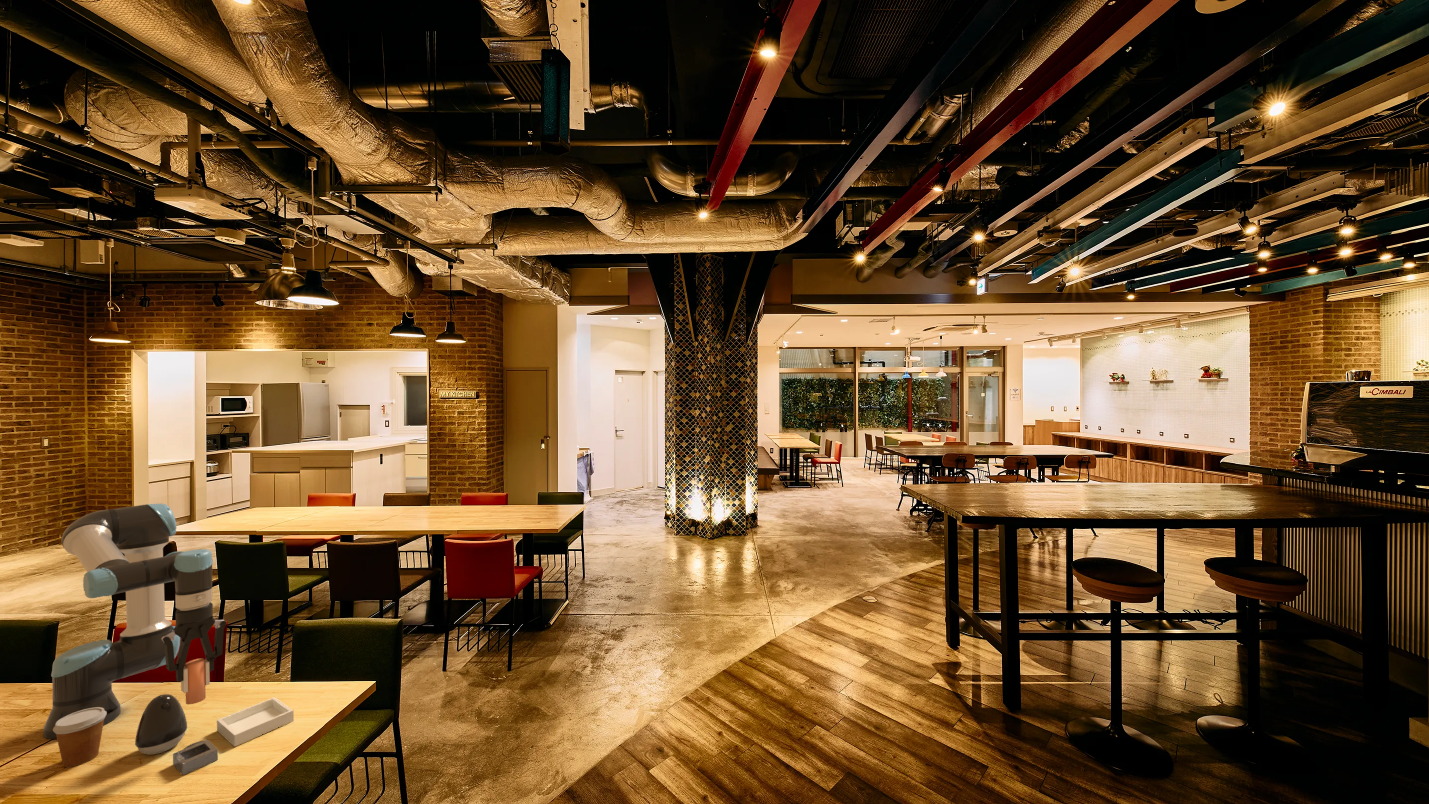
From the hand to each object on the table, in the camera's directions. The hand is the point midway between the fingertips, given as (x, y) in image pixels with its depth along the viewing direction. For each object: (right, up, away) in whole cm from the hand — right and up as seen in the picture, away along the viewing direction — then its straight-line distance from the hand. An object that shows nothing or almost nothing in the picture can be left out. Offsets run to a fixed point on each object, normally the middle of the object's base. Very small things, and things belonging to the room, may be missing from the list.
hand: (195, 687), depth 149 cm
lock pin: (0, -4, 0) cm, 4 cm away
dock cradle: (+8, -18, +11) cm, 22 cm away
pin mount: (+5, -18, -5) cm, 19 cm away
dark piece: (-10, -18, 0) cm, 21 cm away
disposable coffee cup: (-28, -18, -4) cm, 33 cm away
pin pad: (0, -18, 0) cm, 18 cm away
